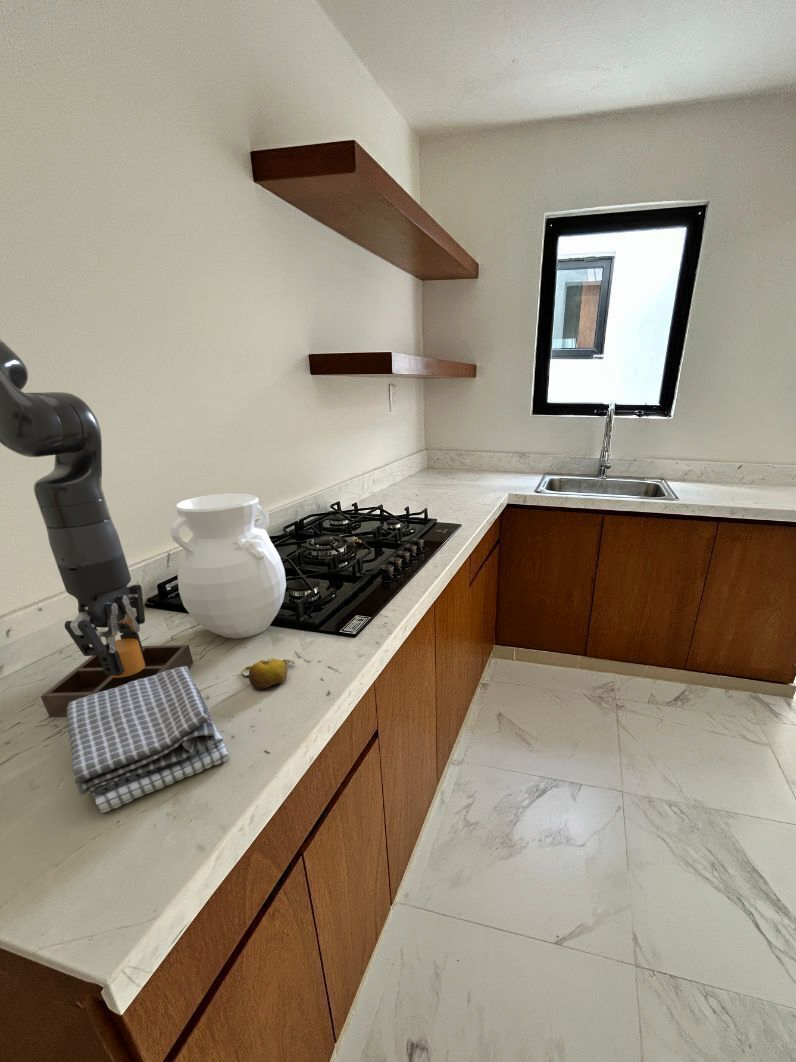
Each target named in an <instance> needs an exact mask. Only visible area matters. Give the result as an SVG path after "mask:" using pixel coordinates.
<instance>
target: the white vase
mask: <svg viewBox="0 0 796 1062" xmlns="http://www.w3.org/2000/svg"><path fill="white" fill-rule="evenodd" d="M259 500H260V498H258V497H257V496H256V495H254V494H250V493H241V492H231V493H216V494H215V493H214V494H207V495H201V496H200V495H199V496H195V497H192V498H191V497H190V498H188V499H184V500H181V501H180V502H177V504H176V506H175V510H176V512H177V515H178V516H179V517H178V518H177V519H176V520H174V521H173V523H172V525H171V526H170V536H171V538H172V541H173V542H174V543H175V544H177V545H178V546H179V547H181V549H182V550H183V551H182V553H181V556H180V558H179V563H178V571H177V585H178V586H177V587H178V593H179V596H180V599H181V602H182V605H183V607H184V608H185V610H186V611H187V612H188V614H189V615H190V616H191V618H192V620H193V621H194V622H195V623H196V624H198V625H200V626H201V627H202V628H204V629H205V630H206V631H209V632H212V633H214V634H216V635H218V636H221V637H223V638H226V639H232V640H233V639H236V640H237V639H244V638H245V639H246V638H249V637H253V636H256V635H259V634H261V633H263V632H264V631H266V630H268V628H269V627H270V626H271V624H272V622H273V621H274V620H275V618H276V616H277V615H278V614H279V611H280V609H281V607H282V604H283V603H284V599H285V594H286V588H287V580H286V571H285V567H284V564H283V561H282V559H281V556H280V554H279V552H278V550H277V549H276V547H275V545H274V544H273V542H272V541H271V538H270V536H269V533H268V532H267V530H268V528H269V525H270V523H271V522H270V521H271V520H270V519H271V518H270V514H269V512H268V510H267V509H265V508H264V507H262V506H261V505H259ZM257 513H258V514H259V521H258V522H257V523H256V524H255V522H256V518H257ZM182 527H186V528H187V529H188V530H189V531H190V532H191V533H192V535H191V536H190V538H189V539H188V541H187V542H186V541H185V540H183V539H182V537H181V536H180V530H181V529H182Z"/></svg>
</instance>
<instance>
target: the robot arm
mask: <svg viewBox="0 0 796 1062" xmlns="http://www.w3.org/2000/svg"><path fill="white" fill-rule="evenodd" d="M28 380H29V370H28V367H27V366H26V364H25V363H24V361H23V359H21V358H20V356H19V355H18V354H17V353H16V352H15V351H13V349H12V348H10V347H9V346H8V345H7V343H5V341H3V340H2V339H1V338H0V444H1V445H2V446H3V447H5V448H6V449H8V450H10V451H11V452H13V453H14V454H17V455H20V456H23V457H27V458H43V457H50V456H54V464H53V465H54V466H53V470H52V471H51V472H50V473H48V474H46V475H44V476H42V477H40V478H38V479H37V480H36V481H35V482H34V484H33V492H34V496H35V497H34V498H35V499H36V502H37V506H38V508H39V511H40V514H41V517H42V520H43V523H44V525H45V528H46V533H47V538H48V543H49V547H50V549H51V553H52V555H53V559H54V561H55V563H56V566H57V570H58V573H59V575H60V577H61V580H62V584H63V586H64V589H65V591H66V593H67V594H68V595H70V596H72V597H74V598H75V599H76V600H77V605H78V606H77V610H78V611H77V612H78V614H77V616H76V617H75V618H74V619H73V620H66V621H65V622H64V629H65V630H66V632H67V633H68V635H69V637H70V638H71V639H72V641H73V642H74V643H75V645H76V646H77V648H78V649H79V650H80V652H81V653H82V655H83V656H84V657H91V656H99V659H100V662H101V665H102V668H103V671H104V673H105V674H106V675H108V676H119V675H121V674H122V673H123V672H124V669H123V666H122V663H121V660H120V657H119V654H118V651H117V650H116V644H115V641H116V636H117V635H118V634H119V633H120V634H121V635H119V637H120V639H126V638H133V639H136V640H138V642H139V646H140V649H141V652H142V654H143V649H142V646H143V645H142V641H141V638H140V635H139V632H140V630H141V628H140V625H143V624H145V623H146V616H145V607H144V596H143V588H142V585H141V584H130V583H131V581H132V576H131V573H130V570H129V566H128V562H127V559H126V556H125V552H124V549H123V546H122V543H121V539H120V536H119V533H118V531H117V528H116V526H115V524H114V521H113V520H112V517H111V513H110V509H109V506H108V504H107V500H106V496H105V494H104V490H103V485H102V481H103V480H102V479H103V439H102V438H103V437H102V432H101V427H100V424H99V420H98V418H97V416H96V414H95V412H94V411H93V410H92V409H91V407H90V406H89V405H88V404H87V403H86V402H85V401H84V400H83V399H82V398H81V397H79V396H77V395H75V394H73V393H71V392H64V391H48V392H24V391H23V389H24V388H25V386H26V385H27V383H28ZM134 609H135V611H134ZM98 628H101V629H102V630H101V629H98ZM103 628H107V629H103ZM102 638H104V639H105V644H104V642H103V641H102Z"/></svg>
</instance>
